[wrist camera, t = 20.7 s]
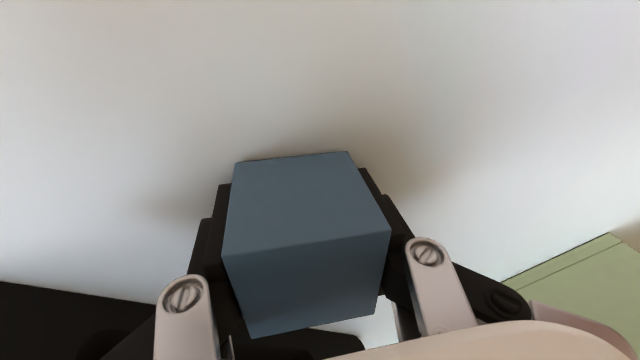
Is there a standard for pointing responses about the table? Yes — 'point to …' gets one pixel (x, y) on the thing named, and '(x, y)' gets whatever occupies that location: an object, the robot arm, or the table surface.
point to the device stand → (126, 329)
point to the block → (303, 242)
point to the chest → (590, 285)
